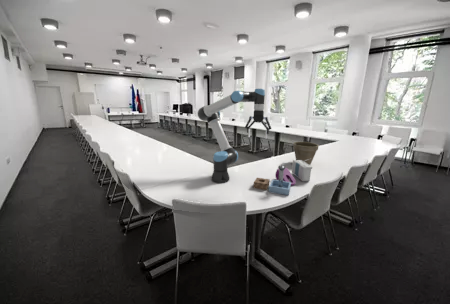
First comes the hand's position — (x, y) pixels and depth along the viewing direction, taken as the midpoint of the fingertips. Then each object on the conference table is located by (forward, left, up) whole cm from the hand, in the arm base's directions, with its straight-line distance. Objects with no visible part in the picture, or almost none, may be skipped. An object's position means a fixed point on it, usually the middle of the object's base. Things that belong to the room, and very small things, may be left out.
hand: (257, 137), depth 155 cm
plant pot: (+35, +72, -37) cm, 88 cm away
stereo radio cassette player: (+34, +26, -37) cm, 57 cm away
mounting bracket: (+23, +11, -37) cm, 45 cm away
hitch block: (+7, -8, -37) cm, 38 cm away
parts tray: (+21, -8, -37) cm, 43 cm away
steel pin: (+21, -8, -36) cm, 42 cm away
